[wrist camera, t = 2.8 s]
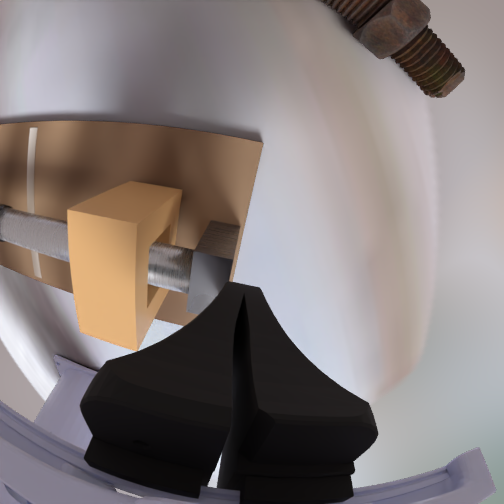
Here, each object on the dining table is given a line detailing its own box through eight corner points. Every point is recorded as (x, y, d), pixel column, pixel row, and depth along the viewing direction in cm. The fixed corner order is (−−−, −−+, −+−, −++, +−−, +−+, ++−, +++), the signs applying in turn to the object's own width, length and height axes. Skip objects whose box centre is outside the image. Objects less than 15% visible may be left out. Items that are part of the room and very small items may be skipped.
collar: (182, 189, 14) (137, 223, 8) (171, 286, 16) (137, 351, 11) (130, 180, 13) (67, 209, 8) (125, 274, 16) (80, 332, 10)
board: (263, 143, 13) (263, 143, 13) (222, 328, 18) (221, 334, 18) (-9, 125, 12) (-15, 126, 12) (-4, 258, 17) (-8, 261, 16)
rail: (241, 222, 15) (233, 261, 11) (231, 270, 16) (220, 321, 12) (-11, 178, 14) (-52, 194, 9) (-9, 212, 15) (-48, 232, 11)
